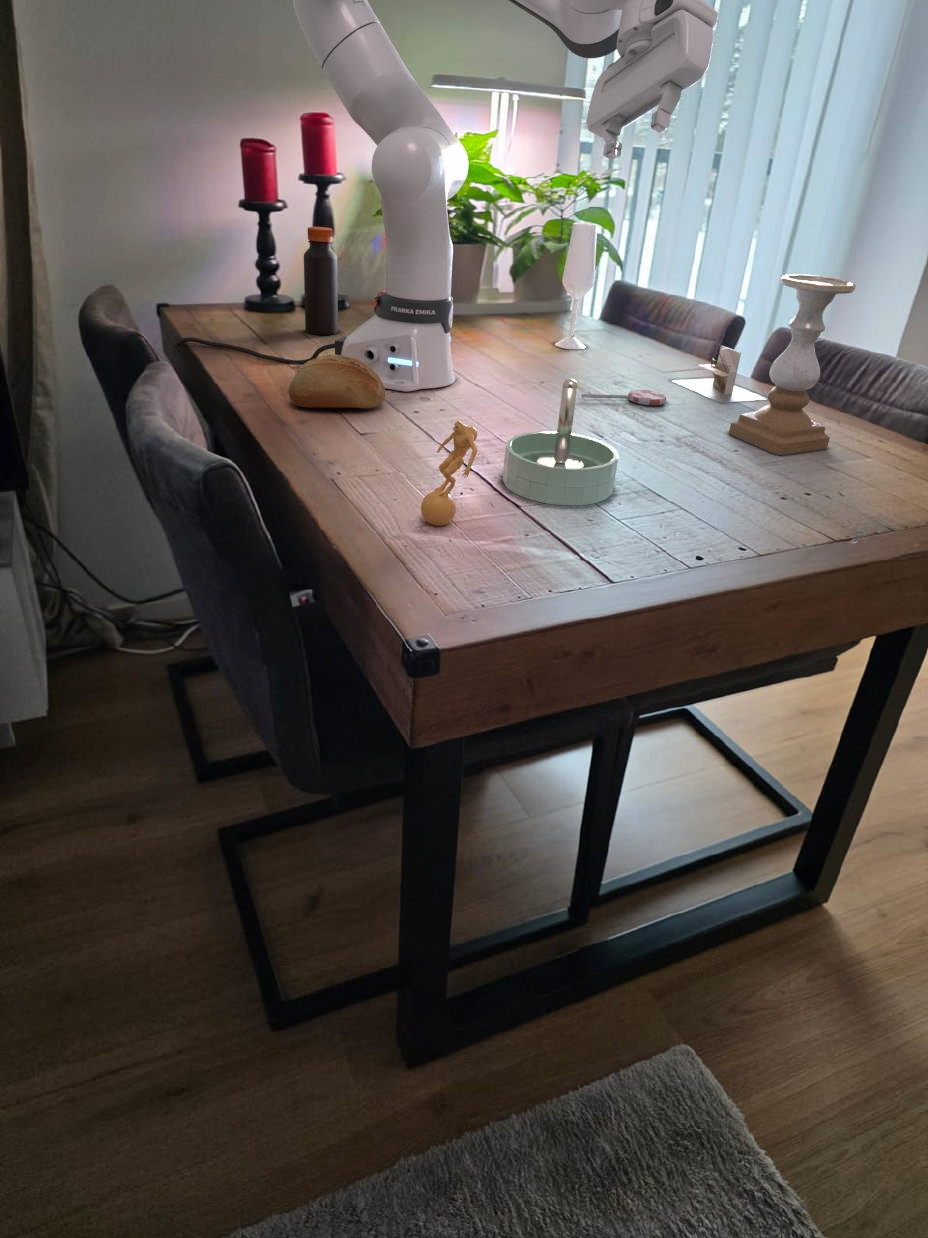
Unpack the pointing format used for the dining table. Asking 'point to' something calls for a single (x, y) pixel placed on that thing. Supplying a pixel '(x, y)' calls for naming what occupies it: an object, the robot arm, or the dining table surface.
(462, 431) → the figurine
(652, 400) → the lollipop
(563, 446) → the meat pounder
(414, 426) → the dining table surface
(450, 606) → the dining table surface
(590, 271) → the champagne flute
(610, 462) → the bowl
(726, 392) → the architectural model
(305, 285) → the bottle
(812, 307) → the candle holder
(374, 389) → the bread roll
